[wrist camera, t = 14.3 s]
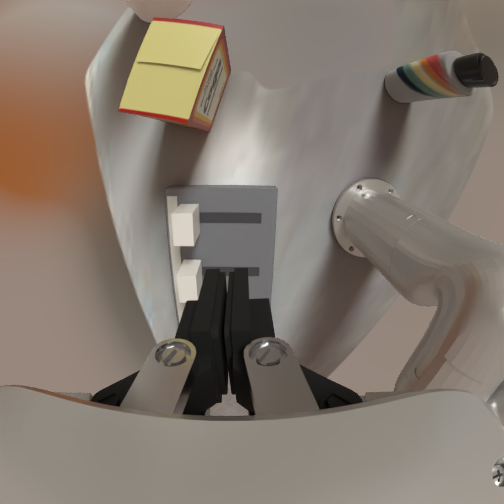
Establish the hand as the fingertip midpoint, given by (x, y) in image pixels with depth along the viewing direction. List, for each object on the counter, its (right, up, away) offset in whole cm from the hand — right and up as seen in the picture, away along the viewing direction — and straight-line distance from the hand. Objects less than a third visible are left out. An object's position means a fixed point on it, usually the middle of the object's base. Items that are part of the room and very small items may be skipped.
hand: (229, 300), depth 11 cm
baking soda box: (-7, +23, +21) cm, 32 cm away
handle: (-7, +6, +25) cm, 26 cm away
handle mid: (-8, -1, +28) cm, 29 cm away
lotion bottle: (+24, +28, +20) cm, 42 cm away
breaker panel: (-4, 0, +31) cm, 31 cm away
